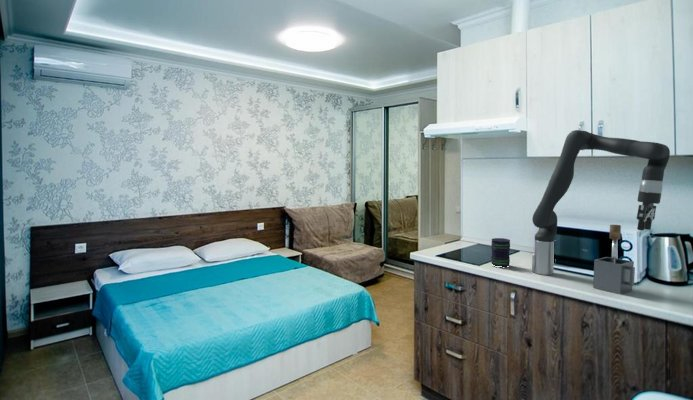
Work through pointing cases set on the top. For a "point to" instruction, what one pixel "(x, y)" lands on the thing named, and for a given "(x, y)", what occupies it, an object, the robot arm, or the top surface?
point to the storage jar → (500, 252)
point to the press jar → (614, 275)
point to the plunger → (614, 240)
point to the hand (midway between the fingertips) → (643, 229)
